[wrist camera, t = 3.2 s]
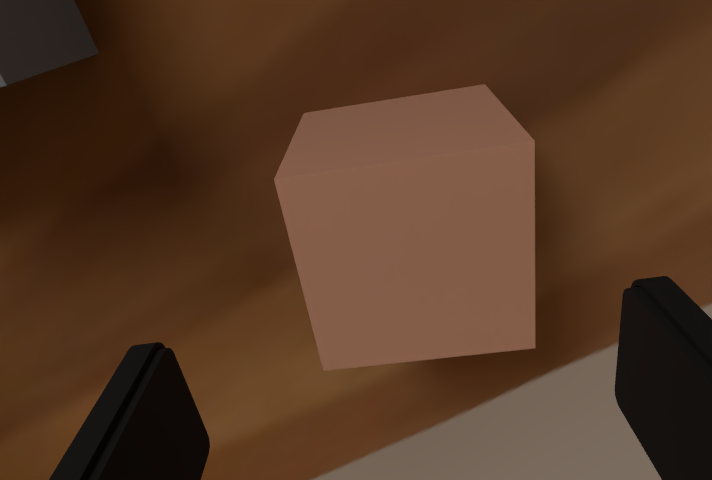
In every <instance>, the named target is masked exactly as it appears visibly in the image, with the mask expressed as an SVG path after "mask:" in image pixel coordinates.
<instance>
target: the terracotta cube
mask: <svg viewBox="0 0 712 480" xmlns="http://www.w3.org/2000/svg"><path fill="white" fill-rule="evenodd" d="M274 181H275V185H276V189H277V193H278V197H279V200H280V204H281V208H282V212H283V216H284V220H285V224H286V228H287V231H288V235H289V239H290V243H291V247H292V251H293V255H294V259H295V262H296V266H297V270H298V274H299V278H300V282H301V286H302V290H303V293H304V297H305V301H306V305H307V309H308V313H309V317H310V321H311V324H312V328H313V332H314V336H315V340H316V344H317V348H318V352H319V355H320V359H321V363H322V367H323V371H326V370H335V369H345V368H354V367H363V366H373V365H382V364H392V363H401V362H411V361H420V360H429V359H439V358H448V357H458V356H467V355H477V354H486V353H495V352H505V351H514V350H524V349H533V348H535V141H534V140H533V138H532V137H531V136H530V135H529V134H528V133H527V132H526V130H525V129H524V128H523V127H522V126H521V125H520V124H519V123H518V121H517V120H516V119H515V118H514V117H513V116H512V115H511V113H510V112H509V111H508V110H507V109H506V108H505V107H504V106H503V104H502V103H501V102H500V101H499V100H498V99H497V98H496V96H495V95H494V94H493V93H492V92H491V91H490V90H489V89H488V87H487V86H486V85H485V84H484V85H477V86H471V87H465V88H459V89H452V90H446V91H440V92H433V93H427V94H421V95H415V96H408V97H402V98H396V99H390V100H383V101H377V102H371V103H365V104H358V105H352V106H346V107H340V108H333V109H327V110H321V111H314V112H308V113H304V114H303V116H302V118H301V121H300V123H299V125H298V127H297V130H296V132H295V134H294V136H293V138H292V141H291V143H290V145H289V147H288V149H287V152H286V154H285V156H284V158H283V161H282V163H281V165H280V167H279V169H278V172H277V174H276V176H275V178H274Z"/></svg>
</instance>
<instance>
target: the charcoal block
mask: <svg viewBox="0 0 712 480" xmlns="http://www.w3.org/2000/svg"><path fill="white" fill-rule="evenodd" d="M96 54H99V52H98V50H97V47H96V45H95V43H94V41H93V39H92V37H91V35H90V32H89V30H88V28H87V26H86V24H85V22H84V20H83V18H82V15H81V13H80V11H79V9H78V7H77V5H76V3H75V0H0V87H3V86H7V85H9V84H12V83H15V82H18V81H21V80H24V79H27V78H30V77H33V76H36V75H38V74H41V73H44V72H47V71H50V70H53V69H56V68H59V67H62V66H65V65H67V64H70V63H73V62H76V61H79V60H82V59H85V58H88V57H91V56H94V55H96Z"/></svg>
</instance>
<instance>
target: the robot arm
mask: <svg viewBox="0 0 712 480" xmlns="http://www.w3.org/2000/svg"><path fill="white" fill-rule="evenodd" d="M615 396H616V399H617V403H618V406H619V408H620V409H621V411H622V413H623V414H624V416H625V418H626V420H627V421H628V423H629V425H630V426H631V428H632V429H633V431H634V433H635V435H636V436H637V438H638V439H639V441H640V443H641V445H642V446H643V448H644V450H645V451H646V453H647V455H648V457H649V458H650V460H651V462H652V463H653V465H654V467H655V468H656V470H657V472H658V473H659V475H660V477H661V479H662V480H712V319H711V318H710V317H709V316H708V315H707V314H706V313H705V312H704V311H703V310H702V309H701V308H700V307H699V306H698V305H697V304H696V303H695V302H694V301H693V300H692V299H691V298H690V297H689V296H688V295H687V294H686V293H685V292H684V291H683V290H682V289H681V288H680V287H678V286H677V285H676V284H675V283H674V282H673V281H672V280H671V279H670V278H669V277H666V276H661V277H653V278H646V279H638V280H635V281H633V283H632V286H631V288H627V289H625V290H624V292H623V299H622V311H621V322H620V334H619V346H618V357H617V369H616V381H615ZM209 448H210V442H209V437H208V434H207V431H206V429H205V426H204V424H203V422H202V419H201V417H200V414H199V412H198V410H197V407H196V405H195V402H194V400H193V398H192V395H191V393H190V390H189V388H188V386H187V383H186V381H185V378H184V376H183V374H182V371H181V369H180V366H179V364H178V362H177V359H176V357H175V354H174V352H173V351H172V349H170V348H165V346H164V345H163V344H162V343H159V342H157V343H149V344H142V345H134V346H132V347H131V348H130V349H129V350H128V352H127V353H126V355H125V357H124V358H123V360H122V361H121V363H120V365H119V366H118V368H117V370H116V371H115V373H114V375H113V376H112V378H111V379H110V381H109V383H108V384H107V386H106V388H105V389H104V391H103V393H102V394H101V396H100V397H99V399H98V401H97V402H96V404H95V406H94V407H93V409H92V410H91V412H90V414H89V415H88V417H87V419H86V420H85V422H84V424H83V425H82V427H81V428H80V430H79V432H78V433H77V435H76V437H75V438H74V440H73V441H72V443H71V445H70V446H69V448H68V450H67V451H66V453H65V455H64V456H63V458H62V459H61V461H60V463H59V464H58V466H57V468H56V469H55V471H54V472H53V474H52V476H51V477H50V479H49V480H201V476H202V473H203V470H204V467H205V464H206V461H207V457H208V454H209Z"/></svg>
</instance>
